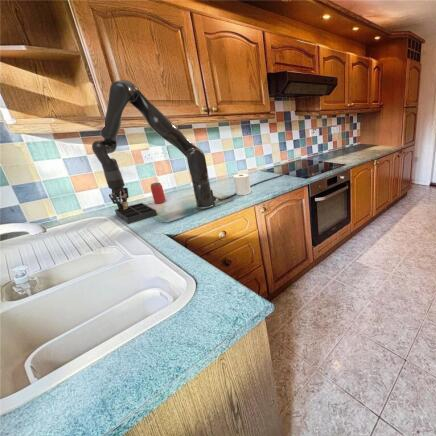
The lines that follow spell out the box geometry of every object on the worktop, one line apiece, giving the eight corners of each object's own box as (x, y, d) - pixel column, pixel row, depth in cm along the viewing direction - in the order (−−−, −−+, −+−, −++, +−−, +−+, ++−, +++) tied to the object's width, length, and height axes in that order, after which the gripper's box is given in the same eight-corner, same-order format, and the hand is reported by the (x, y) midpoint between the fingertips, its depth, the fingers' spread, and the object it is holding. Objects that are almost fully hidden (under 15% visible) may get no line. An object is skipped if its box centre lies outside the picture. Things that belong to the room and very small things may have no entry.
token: (127, 206, 149) (125, 201, 147) (129, 208, 146) (127, 202, 144) (118, 209, 146) (116, 203, 144) (120, 210, 143) (118, 204, 141)
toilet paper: (251, 190, 179) (249, 173, 174) (250, 194, 169) (248, 176, 164) (236, 191, 178) (234, 174, 174) (234, 195, 169) (232, 177, 164)
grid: (143, 207, 157) (141, 202, 155) (157, 215, 143) (155, 210, 142) (116, 214, 147) (114, 209, 146) (128, 223, 133) (126, 218, 132)
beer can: (160, 204, 161) (155, 185, 156) (152, 203, 162) (147, 185, 158) (168, 200, 166) (163, 182, 162) (159, 200, 168) (155, 182, 164)
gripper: (113, 181, 132) (123, 212, 139) (128, 175, 146) (137, 203, 152) (98, 182, 132) (109, 213, 139) (115, 175, 146) (124, 204, 152)
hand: (123, 208), depth 146 cm, fingers closed on token, 4 cm apart
